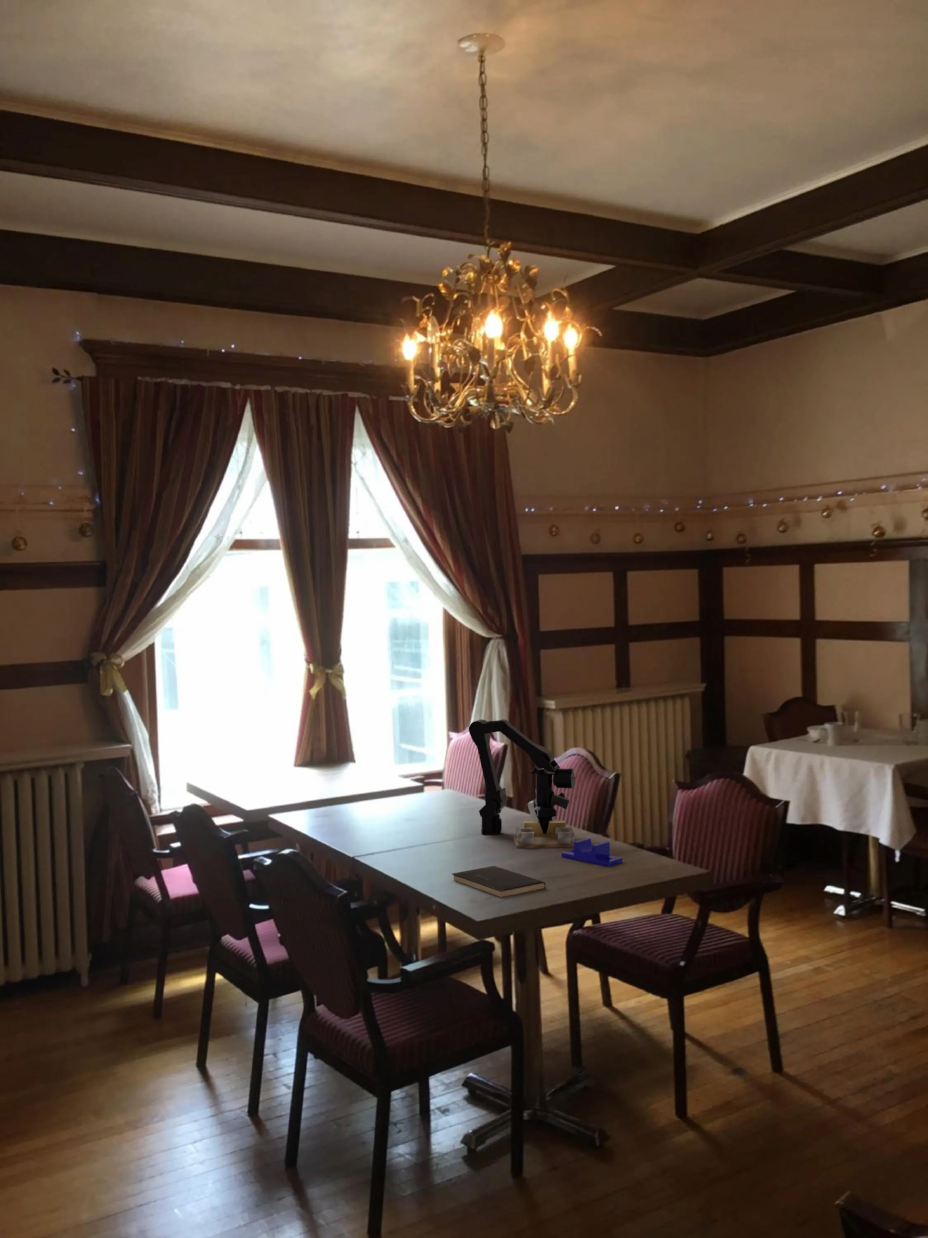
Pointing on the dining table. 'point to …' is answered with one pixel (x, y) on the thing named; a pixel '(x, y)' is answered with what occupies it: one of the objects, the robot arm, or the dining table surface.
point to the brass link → (538, 830)
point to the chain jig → (544, 838)
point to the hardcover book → (498, 881)
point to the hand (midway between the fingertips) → (544, 832)
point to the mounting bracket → (592, 853)
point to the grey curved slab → (533, 814)
